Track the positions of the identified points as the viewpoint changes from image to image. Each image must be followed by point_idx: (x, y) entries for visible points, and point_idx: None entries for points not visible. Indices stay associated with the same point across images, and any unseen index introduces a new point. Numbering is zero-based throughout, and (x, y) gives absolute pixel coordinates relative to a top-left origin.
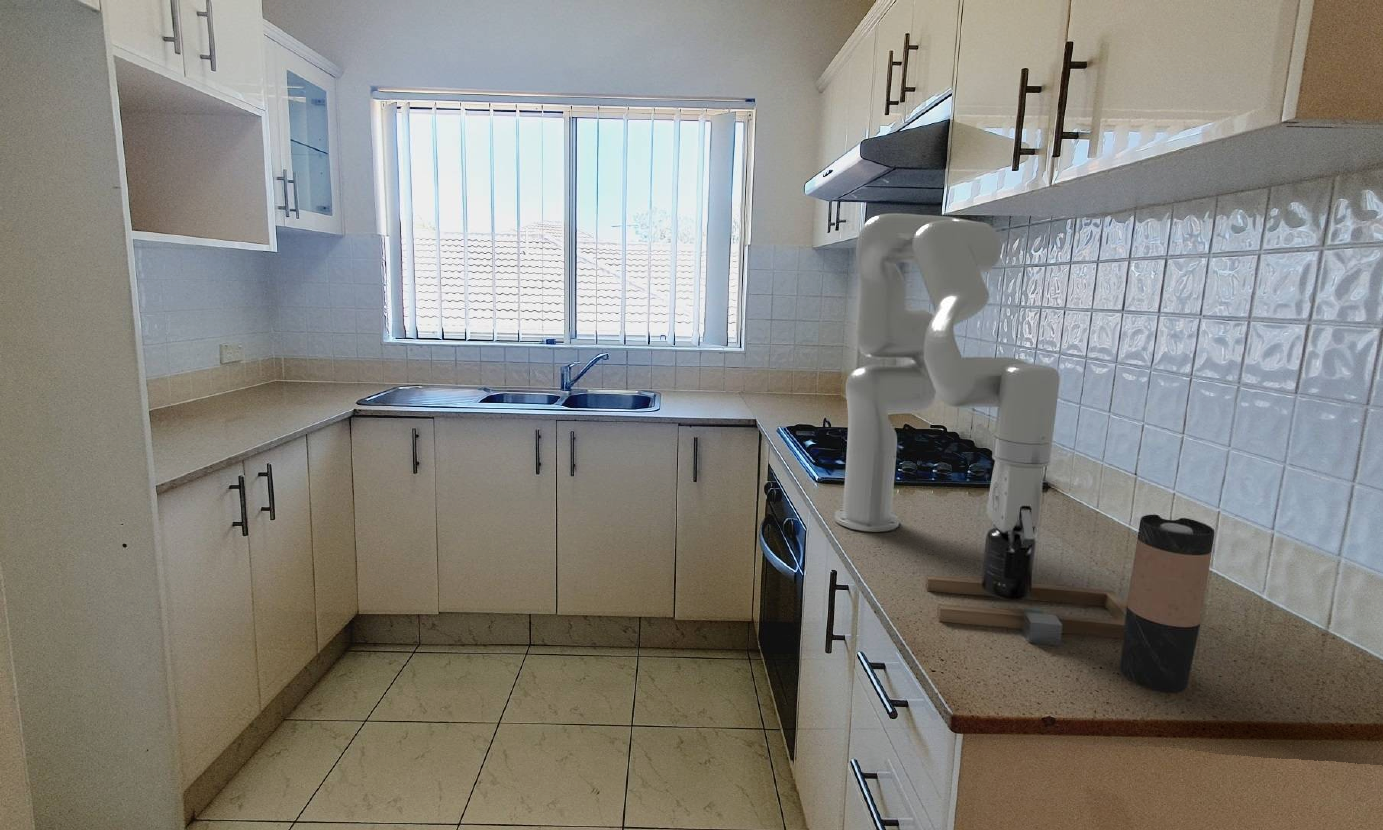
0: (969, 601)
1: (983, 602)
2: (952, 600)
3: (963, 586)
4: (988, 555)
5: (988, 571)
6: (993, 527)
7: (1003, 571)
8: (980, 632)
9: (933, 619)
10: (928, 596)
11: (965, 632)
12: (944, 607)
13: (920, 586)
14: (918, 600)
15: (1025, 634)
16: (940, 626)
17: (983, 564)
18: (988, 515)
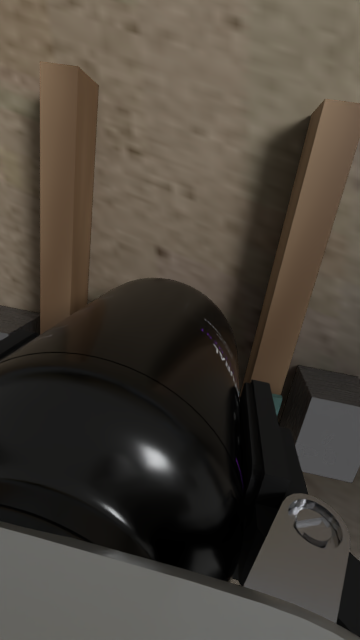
0: (219, 247)
1: (213, 289)
2: (226, 190)
3: (281, 250)
4: (82, 320)
5: (104, 298)
6: (338, 523)
7: (17, 338)
8: (20, 199)
9: (77, 64)
10: (260, 103)
11: (11, 151)
12: (50, 84)
13: (355, 96)
14: (225, 46)
15: (13, 311)
16: (32, 75)
17: (157, 301)
18: (258, 602)
